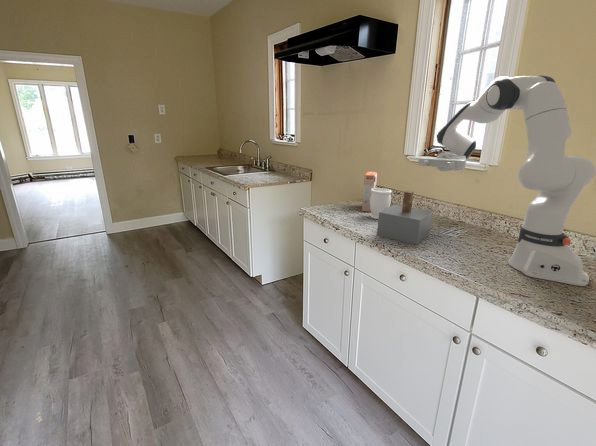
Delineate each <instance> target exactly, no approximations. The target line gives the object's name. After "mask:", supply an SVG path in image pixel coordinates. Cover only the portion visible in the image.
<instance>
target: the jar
mask: <svg viewBox="0 0 596 446" xmlns="http://www.w3.org/2000/svg"><path fill="white" fill-rule="evenodd" d="M371 192H372V194H371V197H370V209H371V212H370V213H371V215H370V218H371V219H375V220H378V219H379V212H381V211H383V210H385V209H387V208H389V207H391V204H392V203H391V201H392V195H391V194H392V192H393V191H392V190H391V189H389V188H384V187H376V188H373V189H371Z"/></svg>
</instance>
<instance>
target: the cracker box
mask: <svg viewBox="0 0 596 446" xmlns="http://www.w3.org/2000/svg"><path fill="white" fill-rule="evenodd" d="M377 179H378V172H377V171H367V172H366V173H365V174H364V179H363V191H362V201H361V202H362V204H361V212H367V213H371V209H370V197H371V194H372V192H371V189H373V188H377Z"/></svg>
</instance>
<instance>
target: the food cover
mask: <svg viewBox="0 0 596 446" xmlns="http://www.w3.org/2000/svg"><path fill="white" fill-rule="evenodd" d="M403 192H404V193H403V200H402V205H399V204H393V205H390V207H389V208H387V209H385V210H383V211H381V212H379V219H377V220H378V221H377V231H376V236H377V237H382V238H386V239H390V240H395V241H398V242H402V243H407V244H409V245H410V244H411V245H415V246H418V245H419V244H420V243H421V242H422V241H423V240H424V239H426V238H427V237H428V236H429V235H430V234H431V228H432V227H431V226H432V222H433V214H434V211H433V210H428V209H423V208H418V207H413V206H412V205H413V199H414V191H412V190H406V191H403Z"/></svg>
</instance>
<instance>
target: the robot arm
mask: <svg viewBox="0 0 596 446" xmlns="http://www.w3.org/2000/svg"><path fill="white" fill-rule="evenodd" d="M492 80H493V79H492ZM506 110H522V111H523V117H524V123H525V127H526V128H525V130H526V134H527V143H528V147H527V149H528V150H527V154H526V158H525V161H524V163H523V164H522V165H521V166H520V168H519V170H518V174H517V176H518V181H519V183H520V185H521V186H522V187H524V188H525V189H528V190H531V191H536V192H538V194H537V195H536V196H535V198H534V199H533V200H531V201H530V202H529V203H528V204H527V206H526V210H525V215H524V218H523V222H522V225H521V226H520V228H519V230H518V235H517V241H516V243H517V244H516V245H515V249H514V250H513V253H512V254H511V256H510V258H509V260H508V261H507V263H508V264H509V266H510V267H512V268H513V269H516V270H517V271H519V272H521V273H523V274H524V275H526V276H527V277H530V278H535V279H541V280H547V281H551V282H558V283H562V284H567V285H573V286H580V287H585V286H587V285H588V284H589V282H590V277H589V274H588V273H587V272H586V271H584V270H583V268H584V264H583V260H582V259H581V257H580V256H579V255H578V254H577V253H576V252H575V251H574V250H573V249H571V248H570V247H569V245H570V244H572V243H571V238H570V237H569V235H568V234H567V233H564V232H563V231H564V227H565V225H566V221H567V219H568V218H567V217H568V215H569V212H570V210H571V208H572V206H573V205H574V203H575V201H576V199H577V198H578V196H579V195H580V193H581V192H582V190H584V188H585V187H586V186H587V185H588V184H590V182H592V180H593V179H594V177H595V176H596V166H595V164H594V163H593V162H592V161H591V160H590V159H588V158H584V157H582V156H577V155H566V154H565V153H566V152H565V149H566V143H567V141H568V139H570V137H571V134H572V129H571V124H570V119H569V115H568V109H567V104H566V101H565V99H564V95H563V92H562V91H561V88H560V87H559V85H558V84H557V83H556V81H555V79H554V78H553V77H551V76H547V75H542V74H541V75H536V76H535V75H527V76H526V75H520V76H513V77H510V76H507V75H506V76H505V75H504V76H503V75H502V76H498V77H496V78H495V79H494V80H493V81H490V83H489V85H487V86H486V88H485V89H484V90H483V91H482V93H481V94H480V96H479V97H478V98H477V100H475V101H469V102H467V103H466V104H464V106H462V107H461V108H460V109H459V110H458V111H457V112H456V114H454V116H453V117H452V118H451V119H450V120H449V121H448V122H447V123H446V124H445V125H444V126H443V127H442V128H441V129H440V130H439V131H438V132H437V134H436V140H437V143H438V144H440V145H441V146H444V147H445V149H448V150H449V151H445V152H440V153H438V155H437V156H436V157H427V156H423V157H418V161H417V166H419V167H430V168H431V167H432V168H433V167H434V168H436V170H438V171H440V172H447V171H449V172H450V171H464V170H465V169H466V165H467V160H468V159H469V158H470V157H471V156H472V155H473V153H474V152H475V150H476V149H477V142H476V140H475V139H473V138H472V137H471V136H470V135H468V134H466V133H465V132H463V131H462V130H460V129H459V128H458V126H459V124H460V123H462V122H463V120H466V121H470V122H471V121H472V122H475V123H479V124H489V123H490V124H491V123H492V122H494V121H496V120H498V119H499V117H501V116H502V115H503V113H504V112H505V111H506Z"/></svg>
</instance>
